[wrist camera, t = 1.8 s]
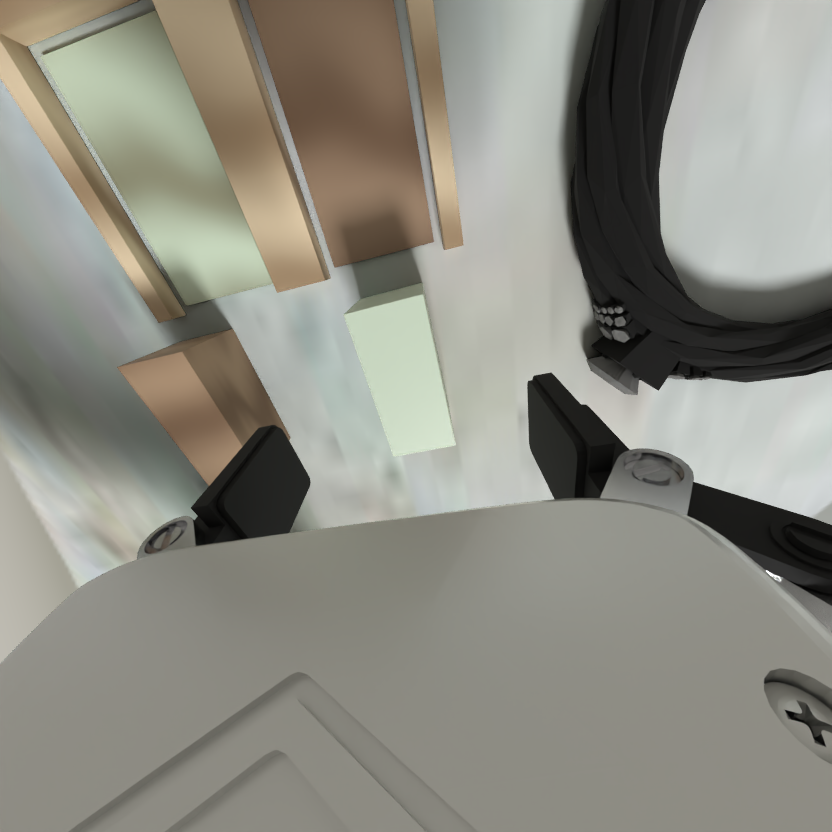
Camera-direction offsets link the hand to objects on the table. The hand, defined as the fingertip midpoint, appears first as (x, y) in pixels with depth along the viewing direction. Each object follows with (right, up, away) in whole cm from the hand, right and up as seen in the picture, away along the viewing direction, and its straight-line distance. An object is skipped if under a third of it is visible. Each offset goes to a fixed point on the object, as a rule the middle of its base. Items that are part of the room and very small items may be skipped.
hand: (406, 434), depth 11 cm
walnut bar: (-13, +2, +11) cm, 17 cm away
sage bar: (0, +5, +10) cm, 11 cm away
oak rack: (-8, +14, +4) cm, 16 cm away
